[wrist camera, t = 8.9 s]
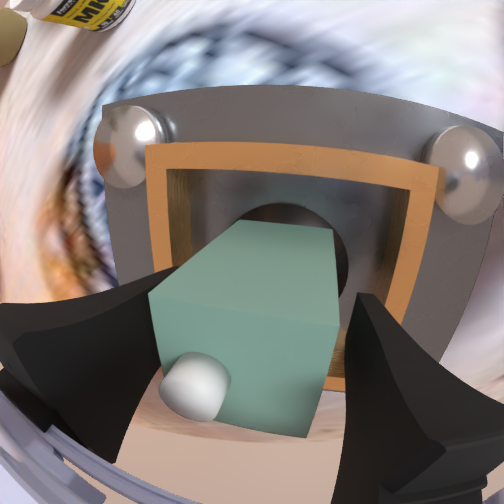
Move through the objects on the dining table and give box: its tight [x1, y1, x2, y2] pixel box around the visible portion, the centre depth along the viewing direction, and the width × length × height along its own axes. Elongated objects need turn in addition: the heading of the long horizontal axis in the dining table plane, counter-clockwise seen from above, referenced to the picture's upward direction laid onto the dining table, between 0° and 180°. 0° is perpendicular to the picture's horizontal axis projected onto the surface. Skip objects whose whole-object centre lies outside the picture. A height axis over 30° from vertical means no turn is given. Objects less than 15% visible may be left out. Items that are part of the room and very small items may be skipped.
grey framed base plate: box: [93, 85, 504, 392], centre depth 13 cm, size 20×16×5 cm
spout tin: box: [148, 220, 340, 438], centre depth 9 cm, size 4×4×8 cm
